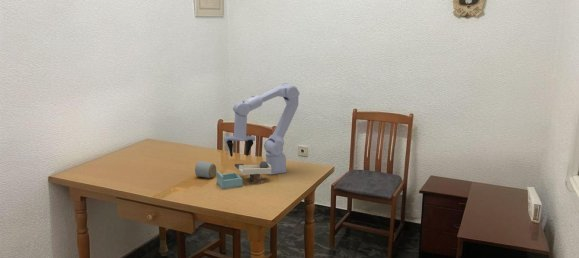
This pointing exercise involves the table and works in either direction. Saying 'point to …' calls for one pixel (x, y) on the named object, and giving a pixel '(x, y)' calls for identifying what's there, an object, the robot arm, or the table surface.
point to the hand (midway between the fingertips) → (239, 155)
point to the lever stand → (254, 179)
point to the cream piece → (253, 169)
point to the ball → (263, 164)
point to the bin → (229, 180)
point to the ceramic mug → (205, 169)
